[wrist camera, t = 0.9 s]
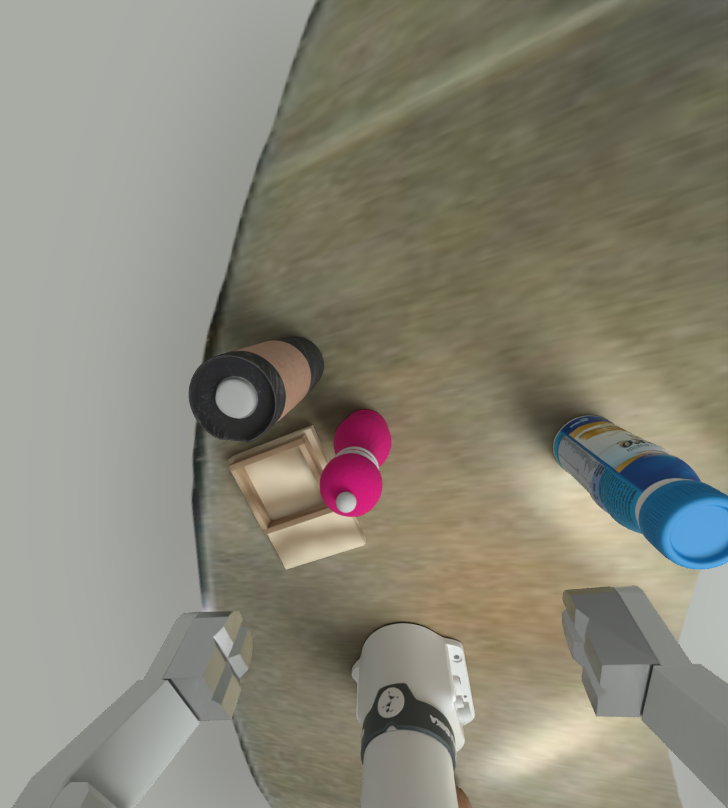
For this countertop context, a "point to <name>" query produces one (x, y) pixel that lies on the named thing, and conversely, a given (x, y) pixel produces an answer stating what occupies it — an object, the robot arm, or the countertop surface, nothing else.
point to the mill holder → (294, 498)
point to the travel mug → (253, 387)
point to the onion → (462, 799)
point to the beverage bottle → (647, 491)
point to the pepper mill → (356, 464)
